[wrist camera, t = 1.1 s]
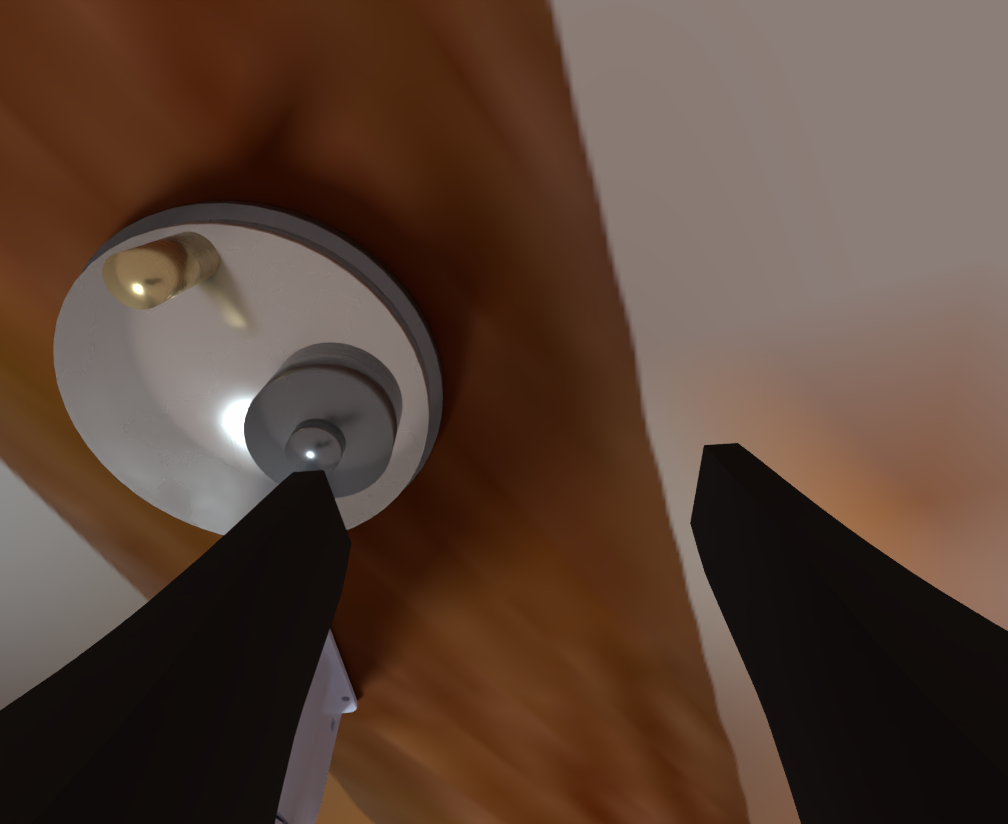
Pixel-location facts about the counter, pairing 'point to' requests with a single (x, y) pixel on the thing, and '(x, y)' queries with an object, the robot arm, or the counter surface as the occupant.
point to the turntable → (218, 360)
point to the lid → (326, 417)
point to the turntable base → (331, 241)
